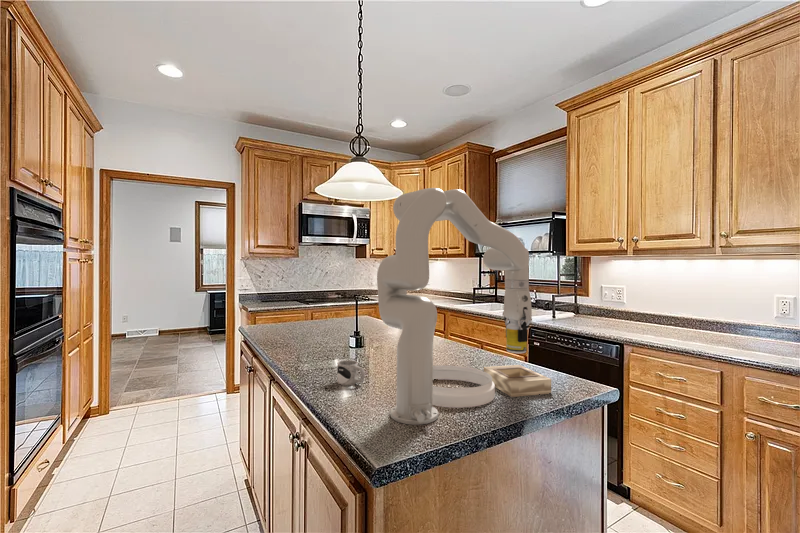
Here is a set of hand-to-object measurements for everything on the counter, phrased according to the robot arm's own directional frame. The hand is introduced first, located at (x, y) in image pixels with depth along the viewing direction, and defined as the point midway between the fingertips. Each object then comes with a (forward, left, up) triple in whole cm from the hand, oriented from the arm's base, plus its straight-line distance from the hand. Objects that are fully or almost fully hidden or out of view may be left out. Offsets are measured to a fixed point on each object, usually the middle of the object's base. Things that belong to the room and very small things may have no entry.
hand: (516, 339), depth 129 cm
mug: (+16, +52, -16) cm, 57 cm away
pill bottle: (0, 0, -4) cm, 4 cm away
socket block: (0, 0, -16) cm, 16 cm away
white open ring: (0, +23, -16) cm, 28 cm away
